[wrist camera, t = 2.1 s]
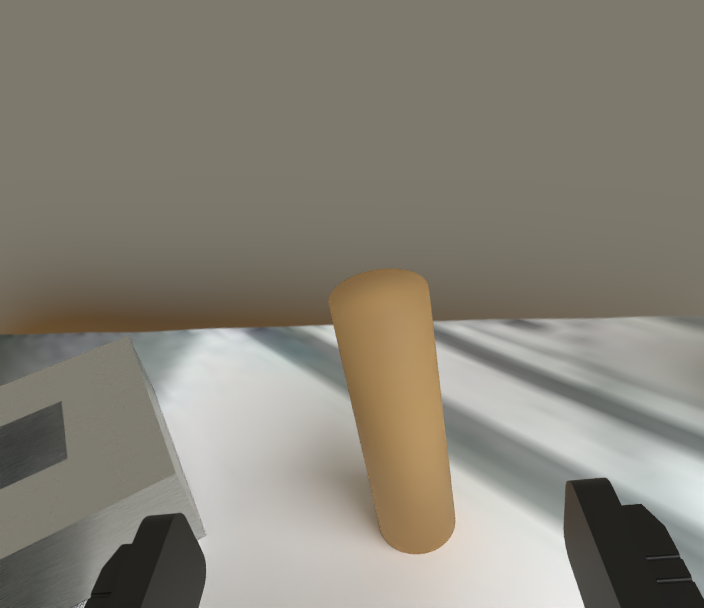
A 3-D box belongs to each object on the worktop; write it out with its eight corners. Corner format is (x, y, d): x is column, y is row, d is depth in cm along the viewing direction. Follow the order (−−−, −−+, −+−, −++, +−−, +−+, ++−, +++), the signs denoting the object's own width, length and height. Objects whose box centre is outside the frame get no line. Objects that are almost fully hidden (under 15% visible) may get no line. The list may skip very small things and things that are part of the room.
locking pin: (426, 477, 31) (393, 259, 24) (471, 527, 28) (449, 293, 21) (365, 512, 30) (312, 293, 23) (406, 569, 27) (358, 335, 20)
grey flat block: (152, 387, 43) (128, 335, 41) (206, 534, 31) (175, 473, 28) (-77, 486, 38) (-121, 434, 35) (-127, 714, 25) (-202, 658, 23)
